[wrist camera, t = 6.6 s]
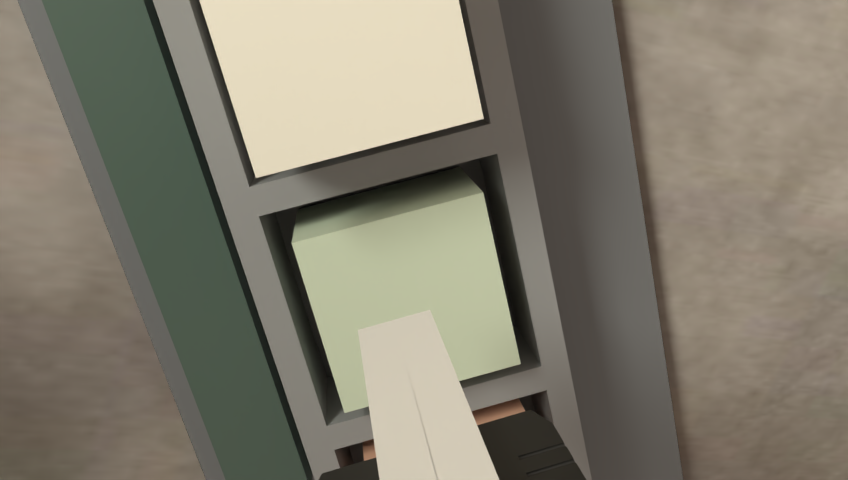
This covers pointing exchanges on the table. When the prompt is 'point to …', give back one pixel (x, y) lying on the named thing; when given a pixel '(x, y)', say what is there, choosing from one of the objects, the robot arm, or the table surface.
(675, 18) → the table surface
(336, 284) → the key sage
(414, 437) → the robot arm
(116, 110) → the grey compartment tray
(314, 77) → the key ivory
